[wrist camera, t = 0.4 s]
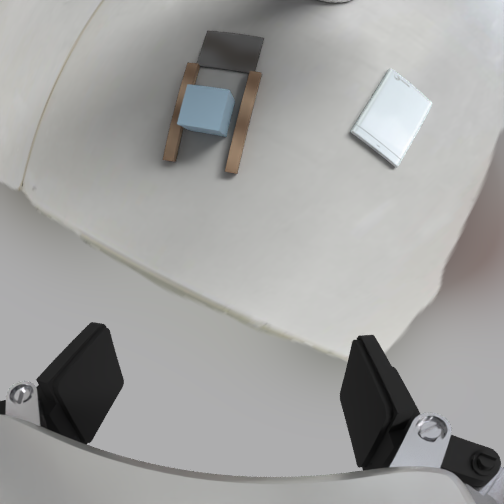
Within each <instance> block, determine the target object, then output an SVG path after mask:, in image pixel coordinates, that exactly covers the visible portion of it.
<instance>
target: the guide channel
mask: <svg viewBox="0 0 504 504" xmlns="http://www.w3.org/2000/svg"><path fill="white" fill-rule="evenodd" d="M263 40H264V38H261V37H256V36H249V35H242V34H235V33H227V32H217V31H207V34H206V37H205V40H204V43H203V46H202V49H201V52H200V55H199V58H198V61H197V63H187V66H186V70H185V73H184V76H183V80H182V83H181V87H180V90H179V94H178V97H177V101H176V105H175V109H174V113H173V116H172V121H171V125H170V129H169V133H168V137H167V142H166V146H165V151H164V156H163V160H167V161H173V162H176V158H177V154H178V149H179V145H180V140H181V136H182V132H183V128H184V127H182V126H180V125H178V124H177V122H178V118H179V114H180V110H181V106H182V102H183V99H184V95H185V91H186V88H187V84H190V85H195V82H196V78H197V75H198V72H199V68H200V66H201V67H210V68H218V69H225V70H232V71H239V72H245V73H249V76H248V79H247V83H246V87H245V91H244V95H243V98H242V102H241V106H240V110H239V114H238V118H237V122H236V126H235V130H234V134H233V138H232V142H231V147H230V151H229V155H228V159H227V164H226V168H225V172H230V173H235V174H237V173H238V168H239V164H240V160H241V155H242V151H243V147H244V143H245V139H246V135H247V131H248V126H249V122H250V118H251V114H252V110H253V106H254V102H255V99H256V95H257V91H258V87H259V83H260V79H261V73H260V72H255V69H256V65H257V62H258V58H259V54H260V51H261V47H262V44H263Z"/></svg>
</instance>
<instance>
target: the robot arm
mask: <svg viewBox="0 0 504 504" xmlns="http://www.w3.org/2000/svg"><path fill="white" fill-rule="evenodd" d="M320 1H325V2H334V3H339V2H347V1H350V0H320ZM37 382H38V384H39V385H38V386H37V387H36V386H35V385H34V384H33V383H31V382H27V381H24V382H19V383H16V384H14V385H13V386H12V387H11V388H9V390H8V392H7V395H6V400H4V401H0V504H504V467H503V468H502V467H501V461H500V457H499V456H498V454H497V453H496V452H495V451H494V450H493V449H490V448H488V447H485V446H482V445H479V444H476V443H473V442H470V441H467V440H464V439H462V438H458V437H456V436H453V435H451V431H452V429H451V425H450V423H449V421H448V420H447V419H446V418H445V417H443V416H442V415H439V414H437V413H431V412H429V413H423V414H420V413H419V411H418V409H417V407H416V405H415V403H414V401H413V399H412V397H411V395H410V393H409V392H408V390H407V388H406V386H405V384H404V383H403V381H402V379H401V377H400V375H399V373H398V372H397V370H396V369H395V368H394V367H392V366H391V364H390V363H389V361H388V359H387V357H386V355H385V354H384V352H383V350H382V348H381V347H380V345H379V343H378V341H377V340H376V338H375V336H374V335H364V336H358V338H357V340H353V342H352V346H351V350H350V355H349V359H348V363H347V368H346V372H345V376H344V380H343V384H342V388H341V391H340V401H341V405H342V408H343V412H344V416H345V419H346V423H347V427H348V431H349V435H350V438H351V442H352V446H353V450H354V454H355V458H356V462H357V466H358V467H362V468H363V471H356V472H349V473H340V474H330V475H317V476H301V477H247V476H231V475H219V474H209V473H202V472H194V471H187V470H181V469H175V468H170V467H165V466H160V465H156V464H151V463H146V462H142V461H138V460H134V459H131V458H127V457H123V456H120V455H116V454H113V453H110V452H107V451H103V450H100V449H97V448H94V447H92V446H89V445H87V443H90V442H91V441H92V439H93V438H94V436H95V434H96V432H97V430H98V429H99V427H100V425H101V423H102V422H103V420H104V418H105V416H106V415H107V413H108V411H109V409H110V408H111V406H112V404H113V402H114V401H115V399H116V397H117V395H118V394H119V392H120V390H121V389H122V387H123V384H124V380H123V376H122V373H121V370H120V366H119V363H118V360H117V356H116V353H115V349H114V345H113V342H112V338H111V334H110V330H109V329H108V328H106V326H105V325H104V324H100V323H93V322H92V323H90V324H89V325H88V326H87V327H86V328H85V329H84V330H83V331H82V332H81V333H80V334H79V335H78V336H77V337H76V338H75V339H74V340H73V341H72V342H71V343H70V344H69V345H68V346H67V347H66V348H65V349H64V350H63V351H62V353H61V354H59V356H58V357H57V358H56V359H55V360H54V361H53V362H52V363H51V364H50V365H49V366H48V367H47V368H46V369H45V371H44V372H43V373H42V374H41V375H40V376H39V377H38V378H37Z"/></svg>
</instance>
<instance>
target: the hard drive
mask: <svg viewBox="0 0 504 504" xmlns="http://www.w3.org/2000/svg"><path fill="white" fill-rule="evenodd" d="M431 106H432V102H431V101H430V100H429V99H428V98H427V97H425V96H424V95H423V94H422V93H421V92H420V91H419V90H418V89H416V88H415V87H414V86H413V85H412V84H411V83H409V82H408V81H407V80H406V79H405V78H403V77H402V76H401V75H400V74H398V73H397V72H396V71H394V70H393V69H389V70H388V71H387V73H386V75H385V76H384V78H383V80H382V81H381V83H380V84H379V86H378V88H377V89H376V91H375V93H374V94H373V96H372V97H371V99H370V101H369V102H368V104H367V106H366V107H365V109H364V110H363V112H362V114H361V115H360V117H359V118H358V120H357V122H356V123H355V125H354V127H353V128H352V130H351V131H350V132H351V133H352V134H354V135H355V136H356V137H358V138H359V139H360V140H362V141H363V142H364V143H366V144H367V145H368V146H370V147H371V148H372V149H373V150H375V151H376V152H377V153H379V154H380V155H381V156H382V157H384V158H385V159H386V160H387V161H388V162H390V163H391V164H392V165H393V166H394V167H398V166H399V164H400V163H401V161H402V159H403V157H404V156H405V154H406V152H407V150H408V149H409V147H410V145H411V143H412V142H413V140H414V138H415V136H416V135H417V133H418V131H419V129H420V127H421V125H422V123H423V122H424V120H425V118H426V116H427V114H428V112H429V110H430V108H431Z"/></svg>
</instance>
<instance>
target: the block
mask: <svg viewBox="0 0 504 504" xmlns="http://www.w3.org/2000/svg"><path fill="white" fill-rule="evenodd" d="M234 104H235V100H234V98H233V96H232V94H231V92H230V90H228V89H221V88H214V87H207V86H199V85H190V84H187V88H186V91H185V95H184V99H183V102H182V106H181V110H180V114H179V118H178V122H177V124H178V125H180V126H182V127H184V128H186V129H188V130H190V131H195V132H201V133H207V134H213V135H218V136H224V137H226V136H227V132H228V128H229V124H230V120H231V116H232V112H233V108H234Z"/></svg>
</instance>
